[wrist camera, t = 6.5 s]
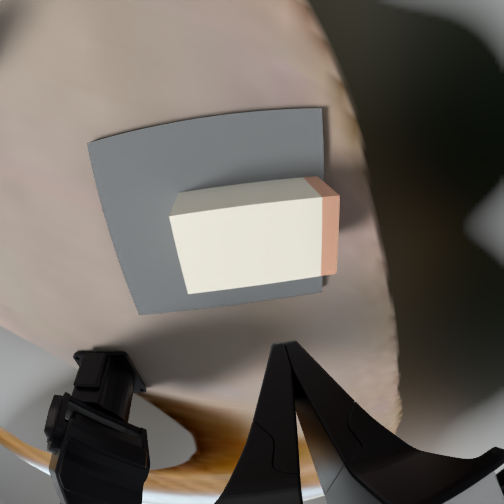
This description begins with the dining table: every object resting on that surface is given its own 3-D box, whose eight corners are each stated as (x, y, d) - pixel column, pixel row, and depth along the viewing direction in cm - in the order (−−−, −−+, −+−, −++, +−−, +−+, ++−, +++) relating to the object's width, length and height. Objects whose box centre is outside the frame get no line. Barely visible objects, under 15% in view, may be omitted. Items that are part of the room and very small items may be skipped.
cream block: (192, 259, 21) (317, 243, 21) (187, 294, 17) (336, 273, 18) (178, 192, 18) (317, 176, 19) (168, 216, 15) (339, 195, 15)
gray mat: (319, 287, 24) (321, 291, 23) (140, 310, 23) (139, 315, 23) (318, 107, 17) (321, 108, 16) (90, 141, 16) (87, 143, 16)
